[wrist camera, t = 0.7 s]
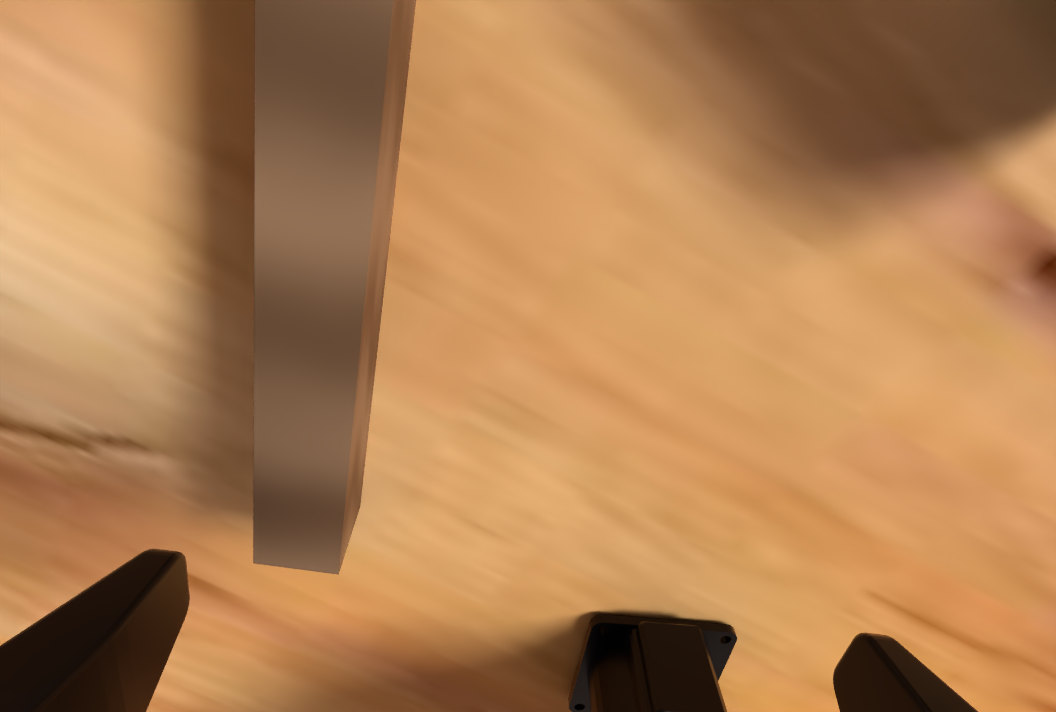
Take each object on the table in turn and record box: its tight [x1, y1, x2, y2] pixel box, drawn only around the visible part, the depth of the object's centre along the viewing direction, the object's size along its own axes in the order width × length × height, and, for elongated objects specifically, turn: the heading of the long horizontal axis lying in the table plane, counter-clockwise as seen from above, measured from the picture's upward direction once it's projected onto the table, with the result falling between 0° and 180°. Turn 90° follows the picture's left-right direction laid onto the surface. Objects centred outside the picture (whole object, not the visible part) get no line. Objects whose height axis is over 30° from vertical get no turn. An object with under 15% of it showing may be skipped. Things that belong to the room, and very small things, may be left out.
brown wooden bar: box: [253, 0, 416, 574], centre depth 18 cm, size 18×3×4 cm, turn 168°
